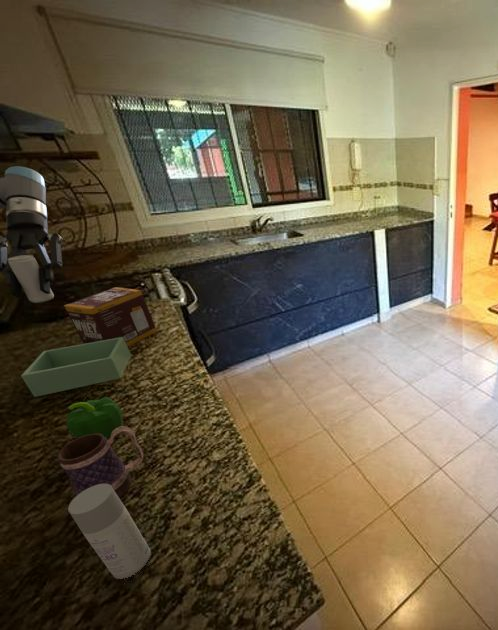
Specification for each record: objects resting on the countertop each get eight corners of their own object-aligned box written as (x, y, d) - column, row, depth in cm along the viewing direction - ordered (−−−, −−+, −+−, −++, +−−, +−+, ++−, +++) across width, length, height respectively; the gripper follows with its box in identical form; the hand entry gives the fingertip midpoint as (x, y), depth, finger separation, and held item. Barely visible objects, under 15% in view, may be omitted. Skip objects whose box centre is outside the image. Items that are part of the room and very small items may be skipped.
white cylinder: (29, 304, 91) (5, 261, 85) (31, 299, 94) (8, 257, 89) (54, 300, 93) (32, 257, 88) (55, 294, 97) (34, 253, 91)
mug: (84, 518, 58) (51, 469, 53) (82, 491, 63) (51, 443, 58) (156, 482, 65) (133, 435, 59) (150, 459, 69) (127, 414, 64)
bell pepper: (135, 418, 80) (118, 383, 75) (122, 444, 73) (102, 407, 68) (90, 427, 77) (70, 392, 73) (72, 455, 70) (48, 418, 66)
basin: (34, 397, 86) (20, 375, 83) (54, 370, 96) (43, 351, 93) (121, 378, 93) (111, 358, 90) (131, 355, 103) (123, 336, 101)
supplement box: (85, 351, 106) (62, 305, 99) (133, 328, 119) (116, 286, 112) (111, 355, 103) (89, 309, 96) (157, 331, 117) (141, 289, 110)
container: (111, 587, 49) (63, 522, 43) (113, 558, 53) (69, 494, 46) (151, 566, 52) (112, 501, 45) (151, 540, 55) (114, 476, 48)
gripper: (-30, 212, 88) (-30, 293, 82) (61, 207, 95) (67, 281, 90) (-8, 229, 95) (-6, 305, 89) (76, 223, 102) (83, 293, 96)
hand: (30, 293), depth 89 cm, fingers closed on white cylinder, 5 cm apart
